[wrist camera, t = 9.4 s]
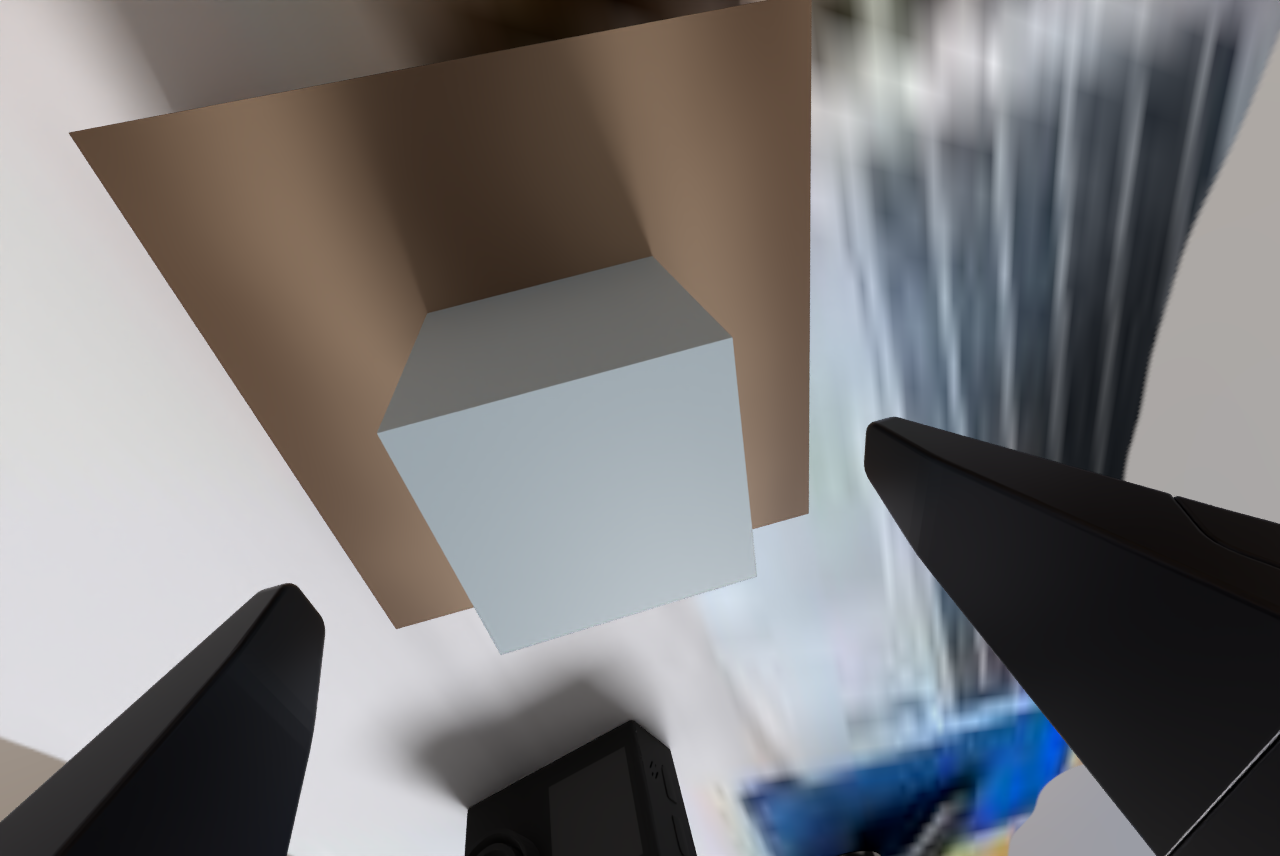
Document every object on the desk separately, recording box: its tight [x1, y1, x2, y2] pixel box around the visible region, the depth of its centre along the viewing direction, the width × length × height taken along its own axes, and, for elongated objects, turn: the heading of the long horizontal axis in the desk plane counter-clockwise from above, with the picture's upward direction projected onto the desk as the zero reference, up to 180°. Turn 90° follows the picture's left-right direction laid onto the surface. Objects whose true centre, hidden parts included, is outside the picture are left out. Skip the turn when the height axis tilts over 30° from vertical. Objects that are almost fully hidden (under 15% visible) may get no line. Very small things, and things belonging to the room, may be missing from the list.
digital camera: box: [465, 721, 697, 856], centre depth 25 cm, size 10×5×7 cm, turn 120°
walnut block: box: [69, 0, 811, 629], centre depth 14 cm, size 13×13×4 cm
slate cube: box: [377, 256, 757, 655], centre depth 11 cm, size 5×5×5 cm
